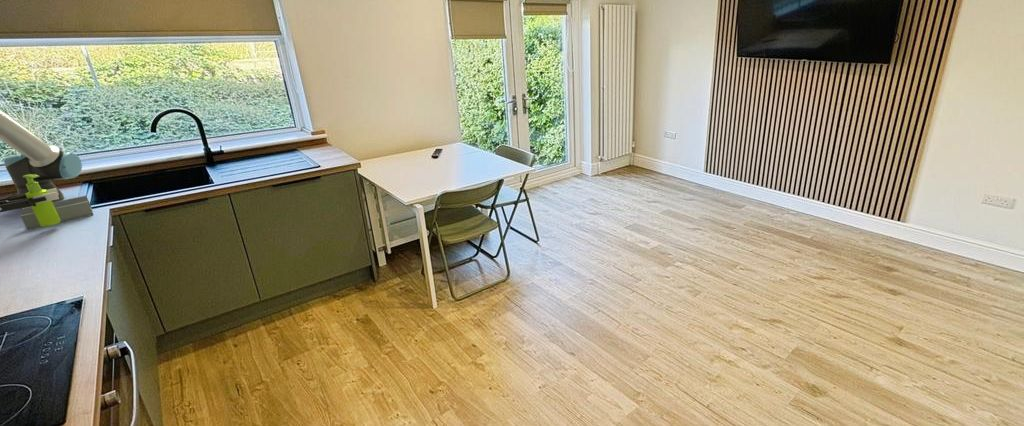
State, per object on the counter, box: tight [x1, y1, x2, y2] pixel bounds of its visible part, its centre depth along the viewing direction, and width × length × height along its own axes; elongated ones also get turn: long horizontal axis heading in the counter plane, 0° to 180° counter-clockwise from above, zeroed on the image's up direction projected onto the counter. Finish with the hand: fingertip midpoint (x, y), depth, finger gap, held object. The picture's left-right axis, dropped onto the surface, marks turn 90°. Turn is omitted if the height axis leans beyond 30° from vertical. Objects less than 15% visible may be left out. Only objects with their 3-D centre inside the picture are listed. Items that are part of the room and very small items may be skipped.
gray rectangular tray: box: [20, 195, 94, 231], centre depth 188 cm, size 12×20×6 cm, turn 134°
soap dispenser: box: [22, 174, 62, 227], centre depth 173 cm, size 6×7×20 cm
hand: (57, 193), depth 176 cm, fingers closed on soap dispenser, 6 cm apart
